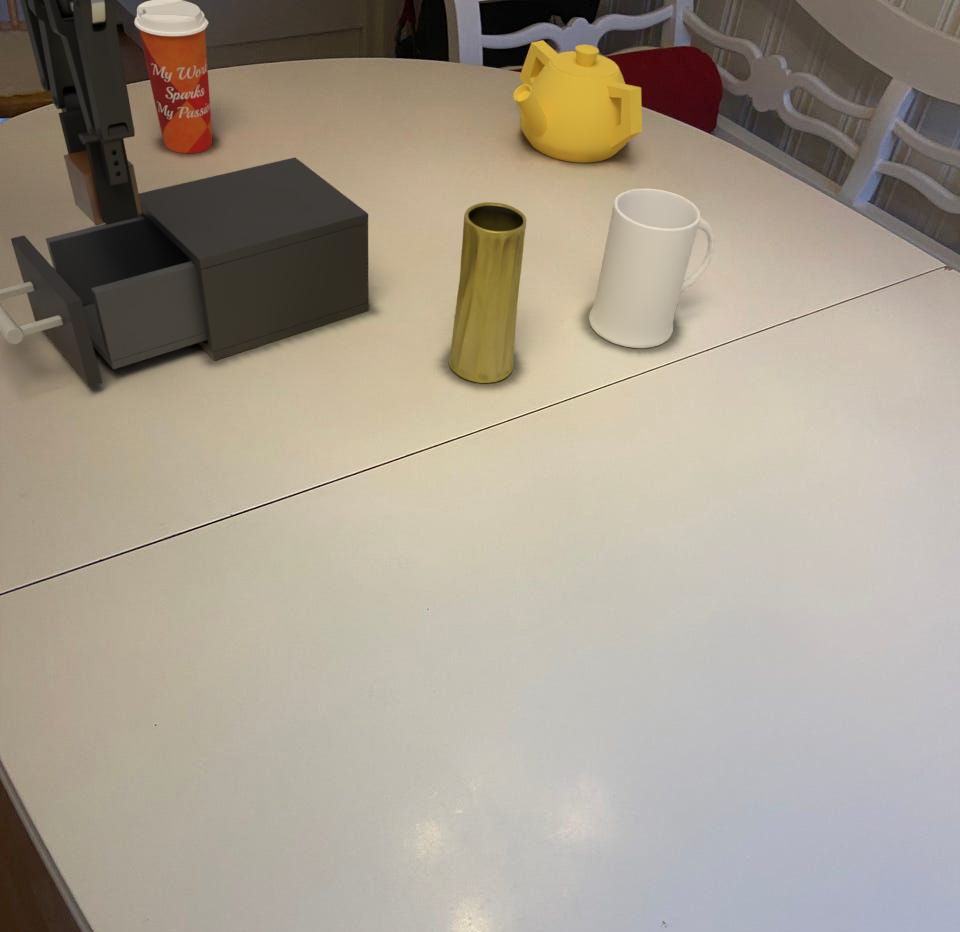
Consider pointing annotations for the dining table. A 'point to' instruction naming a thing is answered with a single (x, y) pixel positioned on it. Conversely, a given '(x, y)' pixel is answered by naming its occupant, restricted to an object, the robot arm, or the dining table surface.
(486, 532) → the dining table surface
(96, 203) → the block
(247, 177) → the dark grey storage box
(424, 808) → the dining table surface
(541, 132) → the teapot
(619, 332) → the mug
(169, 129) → the paper cup
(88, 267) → the drawer
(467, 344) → the vase
